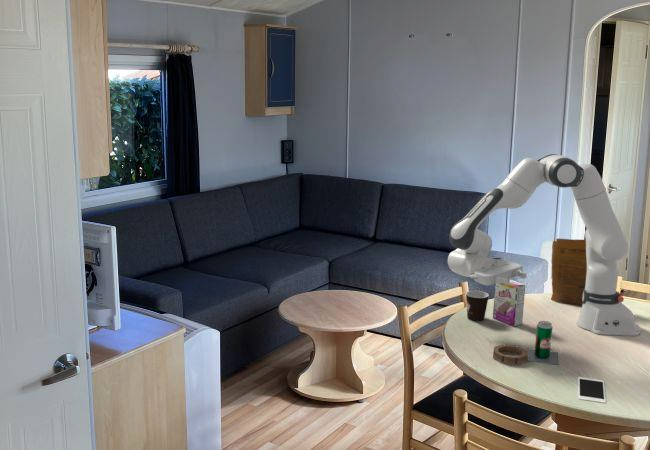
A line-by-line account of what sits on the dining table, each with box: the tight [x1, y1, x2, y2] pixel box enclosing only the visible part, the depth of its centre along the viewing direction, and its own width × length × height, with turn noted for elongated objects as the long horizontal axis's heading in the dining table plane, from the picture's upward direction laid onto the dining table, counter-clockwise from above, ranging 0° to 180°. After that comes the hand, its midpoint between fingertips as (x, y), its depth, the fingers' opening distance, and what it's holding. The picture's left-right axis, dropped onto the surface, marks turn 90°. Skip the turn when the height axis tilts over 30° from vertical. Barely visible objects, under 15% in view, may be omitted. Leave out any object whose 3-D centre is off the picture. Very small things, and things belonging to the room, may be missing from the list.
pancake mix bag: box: [550, 238, 587, 307], centre depth 297 cm, size 7×19×28 cm, turn 68°
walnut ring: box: [492, 344, 528, 366], centre depth 245 cm, size 11×11×2 cm
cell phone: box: [577, 376, 607, 404], centre depth 223 cm, size 8×16×1 cm, turn 161°
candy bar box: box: [492, 278, 526, 328], centre depth 277 cm, size 11×5×16 cm, turn 34°
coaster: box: [527, 348, 560, 366], centre depth 246 cm, size 10×10×1 cm
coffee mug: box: [465, 290, 490, 323], centre depth 281 cm, size 12×9×10 cm
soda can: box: [534, 320, 553, 359], centre depth 245 cm, size 5×5×12 cm
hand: (517, 278), depth 251 cm, fingers open, 8 cm apart
